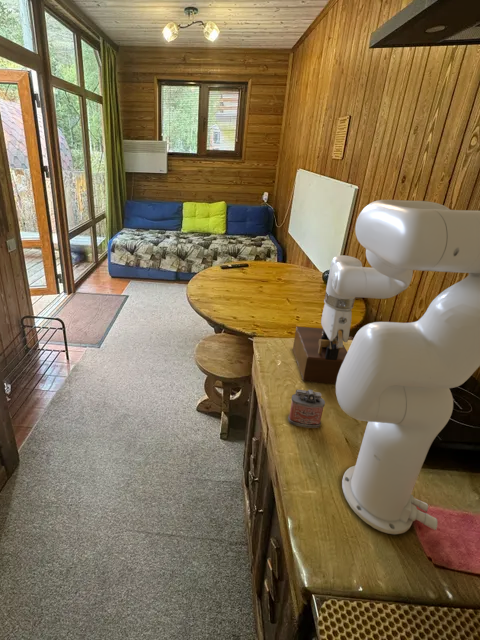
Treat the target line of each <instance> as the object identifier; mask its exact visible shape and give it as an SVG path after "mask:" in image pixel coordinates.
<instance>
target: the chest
mask: <svg viewBox="0 0 480 640" xmlns="http://www.w3.org/2000/svg"><path fill="white" fill-rule="evenodd" d="M293 339H294V340H293V346H292V353H293V355H294V359H295V361H296V363H297V368H298V371H299V373H300V377H301V379H302V381H303V382H307V383H309V382H310V383H319V384H329V385H330V384H331V385H336V381H337V376H338V373H339V370H340V368H341V365H342V363H343V362H337V361H325V360H313V359H308V358H307V355H306V353H305V350H304V347H303V345H302V342H301V340H300V337H299V335H298V332H297V329H296V328H295V332H294V338H293Z"/></svg>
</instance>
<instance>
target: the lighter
mask: <svg viewBox="0 0 480 640" xmlns="http://www.w3.org/2000/svg"><path fill="white" fill-rule="evenodd" d="M325 406H326V401H325V399H324V398H322V393H321V392H319V391H314V390H313V389H308V390H306V389H305V390H304V389H295V393H294V394H292V395H291V404H290V410H289V414H288V416H287V421H288V423H290V424H291V425H293V426H297V427H301V428H307V429H318V428H320V427H321V424H322V421H321V420H322V416H323V411H324V407H325Z"/></svg>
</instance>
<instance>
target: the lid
mask: <svg viewBox="0 0 480 640" xmlns="http://www.w3.org/2000/svg"><path fill="white" fill-rule="evenodd" d="M296 329H297V332H298V335H299V337H300V340H301V342H302V345H303V347H304V350H305V353H306V355H307V358H308V359H313V360H325V361H337V362H343V361H344V359H345V356H346V354H347V352H348V350H347V348H346V347H345V345H344V344H343V349H340V350H339V352H338V357H337V360H326V359H325V355H326V350H327V349H325V348H322V347H329V340H323V339H321V337H322V331H323V327H309V326H307V327H306V326H295V330H296ZM335 338H336V337H335ZM336 343H337V342H335V341H333V342H332V345H333V344H336Z"/></svg>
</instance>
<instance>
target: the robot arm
mask: <svg viewBox="0 0 480 640" xmlns="http://www.w3.org/2000/svg"><path fill="white" fill-rule="evenodd" d="M354 228H355V236H356V240H357V242H358V243H359V244H360V245H361V246H362V247H363V248H364V249H365V257H366V260H367V263H368V265H370V266H371V267H369V266H368V267H366V266H363V263H362V261H361V260H360V259H359V258H357V257H354V256H351V255H343V254H342V255H335V256H334V257H333V258H332V259H331V261H330V267H329V273H328V277H327V283H326V288H325V294H324V297H323V298H324V299H323V303H324V305H323V309H322V313H321V319H320V325H321V328H322V329H323V331H322V337H321V339H323V340H329V347H322V348H325V349H327V350H326V355H325V359H326V360H337V357H338V352H339V350H340V349H343V345H344V343H348V342H349V337H350V331H351V327H352V326H351V325H352V316H353V314H352V313H353V311H352V310H353V308H354V305H355V300H356V298H365V299H376V300H377V299H379V300H385V299H390V298H393V297H395V296H397V295H399V294H401V293H402V292H404V291H406V290H407V289H408V288H409V286H410V285H411V282H412V279H413V274H414V271H420V272H438V273H439V272H441V273H442V272H443V273H460V274H461V273H463V274H468V275H467V276H466V277H464V278H463V279H460V281H458V282H455V283H454V284H452V285H451V286H449V287H447V288H446V289H444V290H443V291H441V292H440V293H439V294H438V295H437V296H435V297H434V299H433V300H432V301H431V302H430V303H429V305H428V307H427V309H426V311H425V312H424V314H423V315H422V316H421V317H420V318H419V319H418V320H416V321H411V322H396V321H373V322H369V323H367V324H365V325H363V326H362V327H360V328H359V330H358V331H356V334H355V335H354V337H353V339H352V341H351V344H350V345H349V348H348V350H347V354H346V356H345V359H344V361H343V363H342V365H341V368H340V370H339V373H338V376H337V381H336V384H335V395H336V401H337V403H338V406H339V407H340V409H341V410H342V411H343V412H344V413H345V414H346V415H347V416H349V418H352V419H354V420H357V421H361V422H367V423H366V427H365V430H364V434H363V437H362V441H361V444H360V447H359V452H358V455H357V459H356V463H355V465H353V466H350V467H349V468H347V469H346V470H345V472H344V473H343V476H342V480H341V488H342V493H343V495H344V498H345V500H346V502H347V504H348V505H349V507H350V508H351V509H352V511H353V512H354V514H356V515H357V517H358V518H360V519H361V520H362V521H363V522H364V523H365V524H367V525H368V526H370V527H371V528H372V529H375V530H377V531H379V532H381V533H385V534H389V535H401V534H404V533H407V531H409V530H410V528H411V526H412V524H413V522H415V521H417V522H419V523H421V524H423V525H424V526H426V527H428V528H429V529H432V530H434V531H437V529H438V518H436V517H434V516H432V515H431V514H429V513H428V510H429V504H428V503H427V502H424V501H422V500H421V499H418V498H416V497H414V495H413V494H412V493H413V491H414V488H415V487H416V483H417V480H418V478H419V476H420V473H421V470H422V467H423V465H424V462H425V460H426V458H427V456H428V453H429V450H430V448H431V446H432V444H433V442H434V440H435V439H436V437H437V436H438V435H439V434H440V433H441V432H442V430H444V428H445V427H446V425H447V424H448V422H449V421H450V419H451V416H452V414H453V410H454V397H453V394H452V392H451V389H453V388H458V387H460V386H462V385H463V384H464V383H465V382H467V381H468V380H469V379H470V378H471V376H472V375H473V374H474V373H475V372H476V371H477V370H478V369H479V368H480V210H473V209H472V210H471V209H470V210H467V209H464V210H463V209H450V208H449V207H448V206H446V205H444V204H441V203H438V202H435V201H428V200H402V199H377V200H374V201H372V202H370V203H368V204H367V205H365V207H363V209H362V210H361V211H360V212H359V214H358V217H357V218H356V222H355V227H354ZM335 337H336V338H335ZM333 341H335V342H337V343H336V344H333V345H332V342H333ZM419 509H420V510H419ZM423 511H424V512H423ZM426 512H427V513H426Z"/></svg>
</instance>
